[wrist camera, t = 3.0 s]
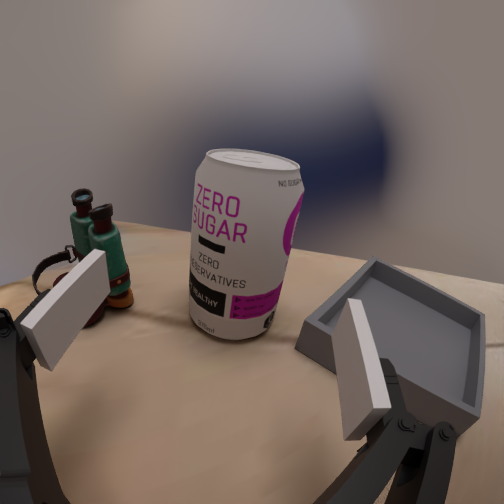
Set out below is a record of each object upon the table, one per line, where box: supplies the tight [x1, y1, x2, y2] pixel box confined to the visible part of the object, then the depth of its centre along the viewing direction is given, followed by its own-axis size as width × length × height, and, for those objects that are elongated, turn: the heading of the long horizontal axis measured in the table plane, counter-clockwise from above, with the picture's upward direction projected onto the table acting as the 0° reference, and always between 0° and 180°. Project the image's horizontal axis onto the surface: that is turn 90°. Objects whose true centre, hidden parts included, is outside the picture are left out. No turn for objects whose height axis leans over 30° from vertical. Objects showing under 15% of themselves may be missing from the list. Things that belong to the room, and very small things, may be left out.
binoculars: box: [32, 189, 134, 326], centre depth 23 cm, size 9×11×10 cm
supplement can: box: [189, 149, 304, 340], centre depth 24 cm, size 8×8×15 cm
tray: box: [295, 256, 485, 438], centre depth 26 cm, size 18×18×4 cm
